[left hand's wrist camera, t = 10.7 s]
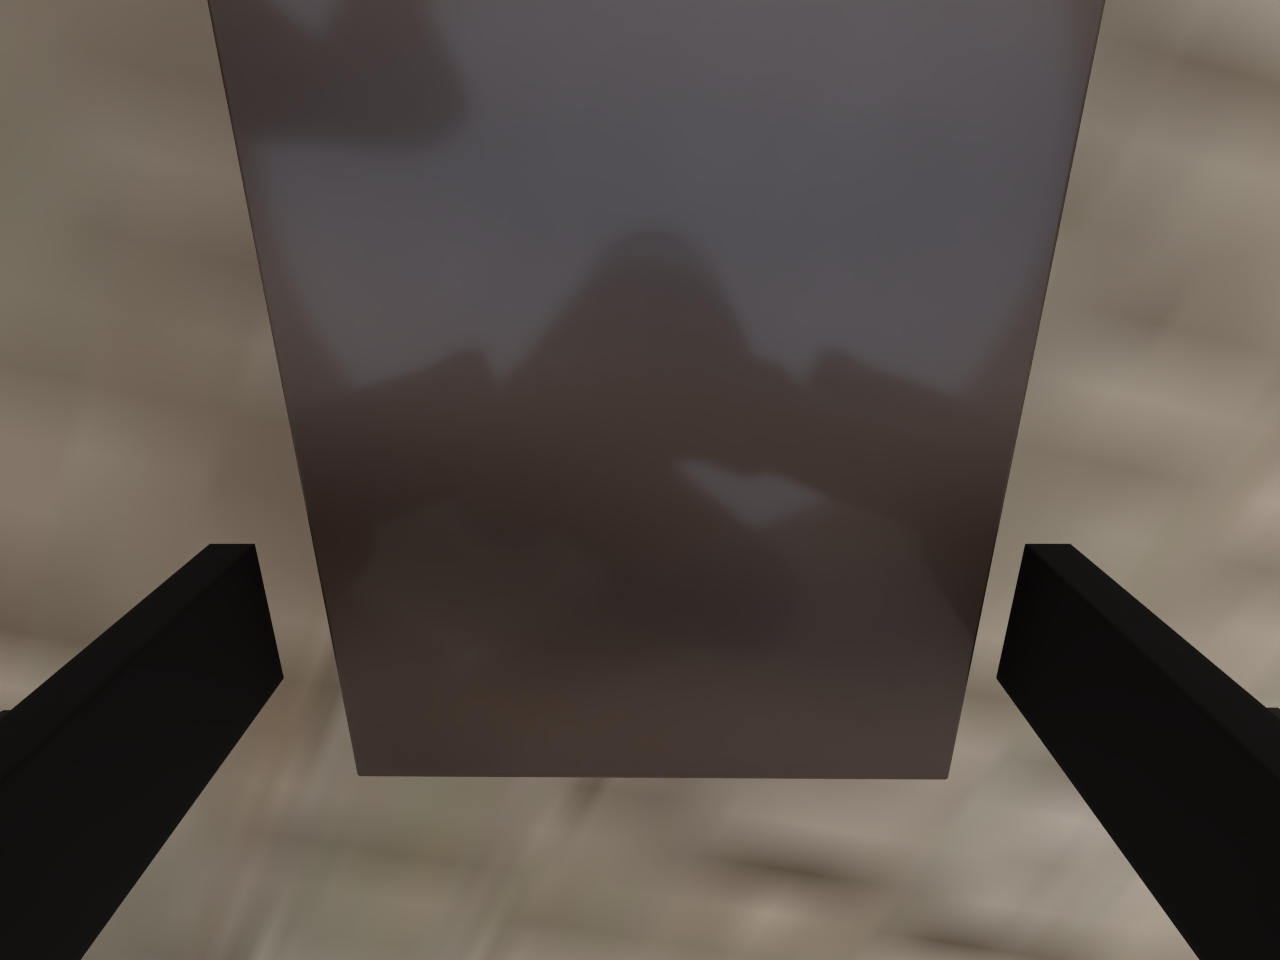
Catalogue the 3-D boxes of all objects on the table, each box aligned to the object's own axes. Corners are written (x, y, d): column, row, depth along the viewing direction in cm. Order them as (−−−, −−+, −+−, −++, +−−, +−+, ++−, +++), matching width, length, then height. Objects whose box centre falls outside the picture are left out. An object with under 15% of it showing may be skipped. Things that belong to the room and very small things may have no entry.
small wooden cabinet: (415, -336, 16) (-63, -1376, 5) (890, -342, 16) (1397, -1421, 5) (489, 502, 24) (356, 777, 13) (811, 502, 24) (948, 780, 13)
